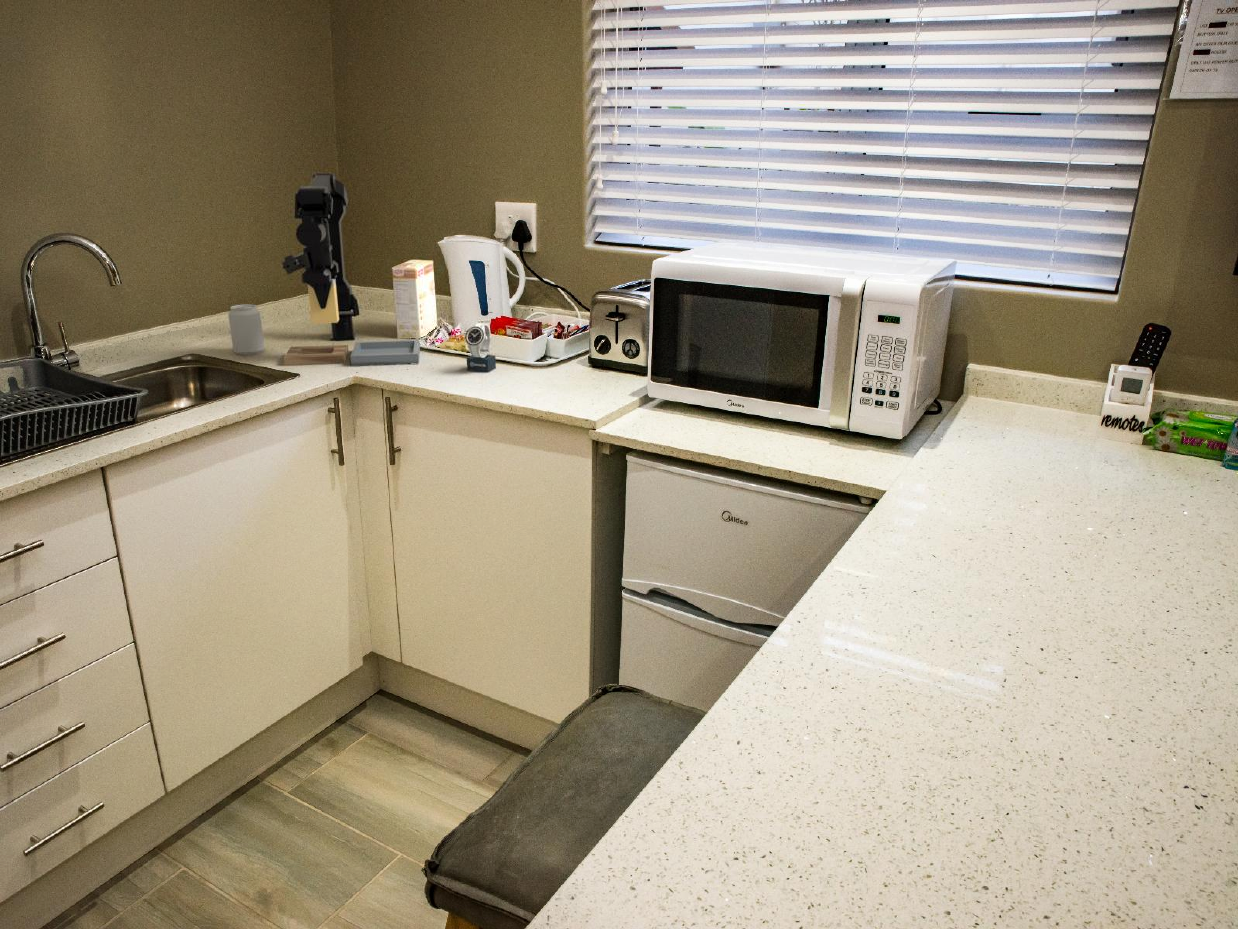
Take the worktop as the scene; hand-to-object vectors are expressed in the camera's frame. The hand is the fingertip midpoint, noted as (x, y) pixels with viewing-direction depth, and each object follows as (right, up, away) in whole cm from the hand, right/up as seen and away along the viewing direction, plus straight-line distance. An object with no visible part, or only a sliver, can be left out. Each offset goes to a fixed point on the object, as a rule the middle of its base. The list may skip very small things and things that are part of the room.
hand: (324, 306), depth 228 cm
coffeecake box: (+16, -2, +33) cm, 37 cm away
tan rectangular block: (0, -3, +1) cm, 4 cm away
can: (-22, -10, +10) cm, 27 cm away
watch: (+39, -16, -5) cm, 43 cm away
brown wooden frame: (-3, -12, +4) cm, 13 cm away
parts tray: (+14, -12, +6) cm, 19 cm away
